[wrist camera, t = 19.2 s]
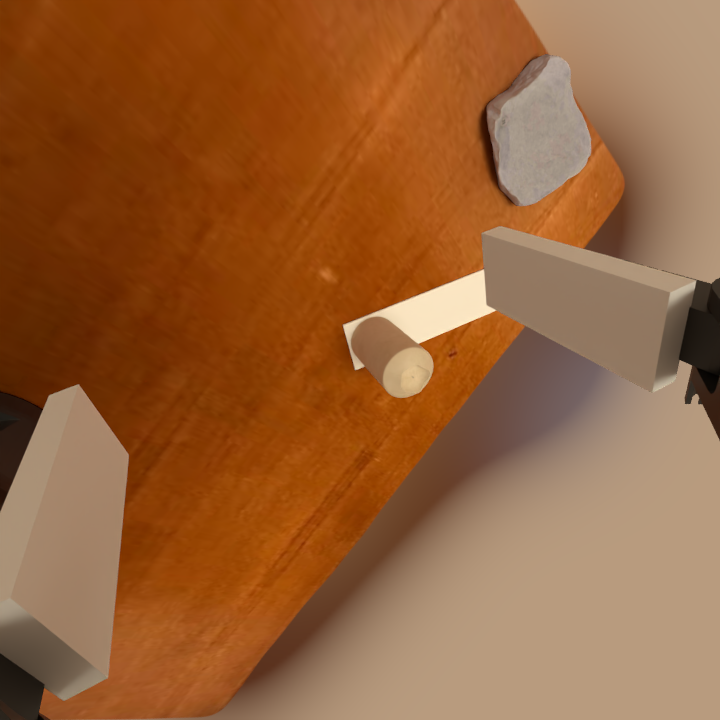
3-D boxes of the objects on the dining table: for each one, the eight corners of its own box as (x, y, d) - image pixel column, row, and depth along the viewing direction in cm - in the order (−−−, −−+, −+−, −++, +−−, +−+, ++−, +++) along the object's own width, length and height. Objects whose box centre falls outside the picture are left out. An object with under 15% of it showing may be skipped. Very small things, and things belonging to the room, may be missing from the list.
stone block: (501, 210, 51) (577, 154, 49) (522, 221, 47) (605, 160, 45) (455, 116, 44) (541, 47, 43) (475, 120, 40) (570, 44, 39)
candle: (389, 308, 48) (437, 344, 40) (399, 349, 51) (444, 390, 43) (344, 327, 47) (384, 368, 39) (357, 368, 50) (395, 414, 42)
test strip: (354, 369, 50) (355, 370, 50) (342, 324, 47) (343, 325, 47) (498, 308, 55) (499, 309, 54) (496, 263, 51) (497, 264, 51)
